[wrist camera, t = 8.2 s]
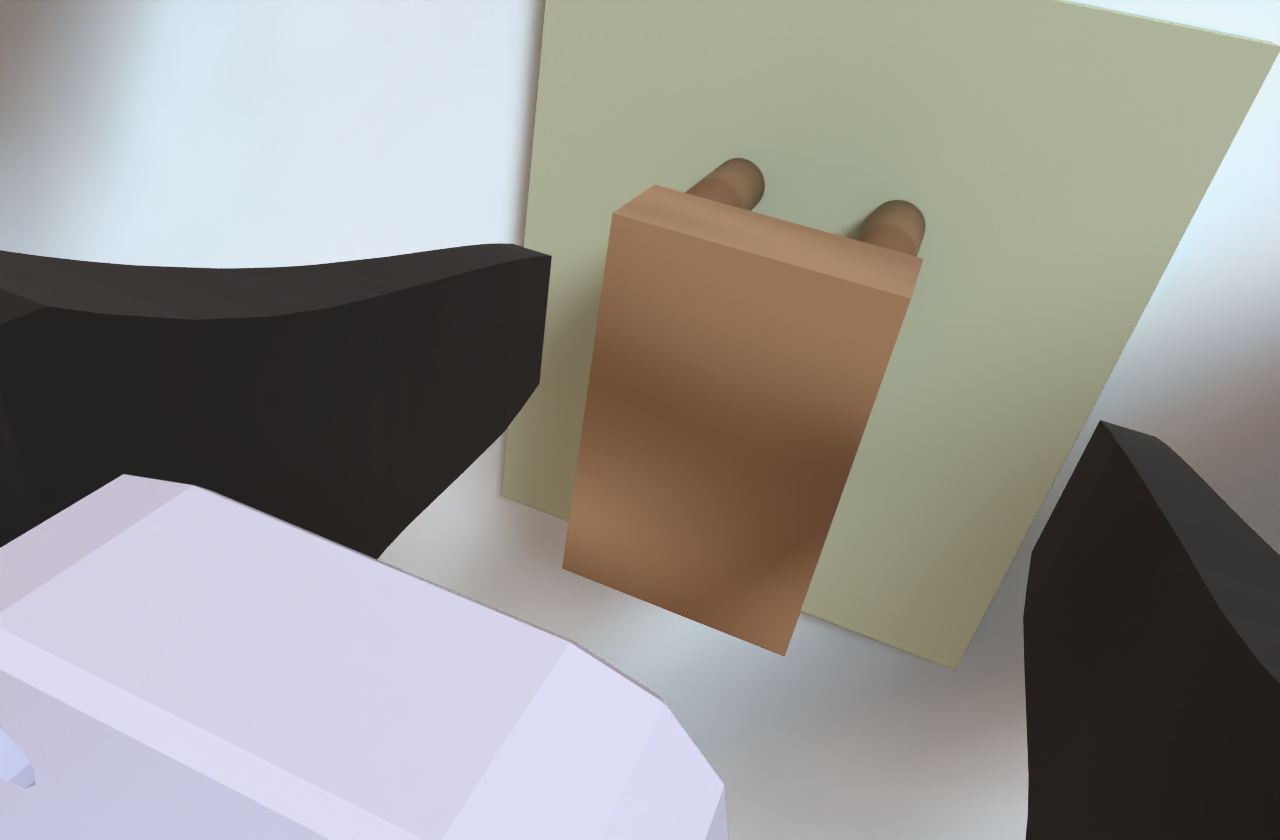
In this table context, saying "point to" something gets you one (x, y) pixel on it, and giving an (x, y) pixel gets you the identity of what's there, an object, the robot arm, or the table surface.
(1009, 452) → the mat
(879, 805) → the table surface
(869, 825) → the table surface
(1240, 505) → the table surface
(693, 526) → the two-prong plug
